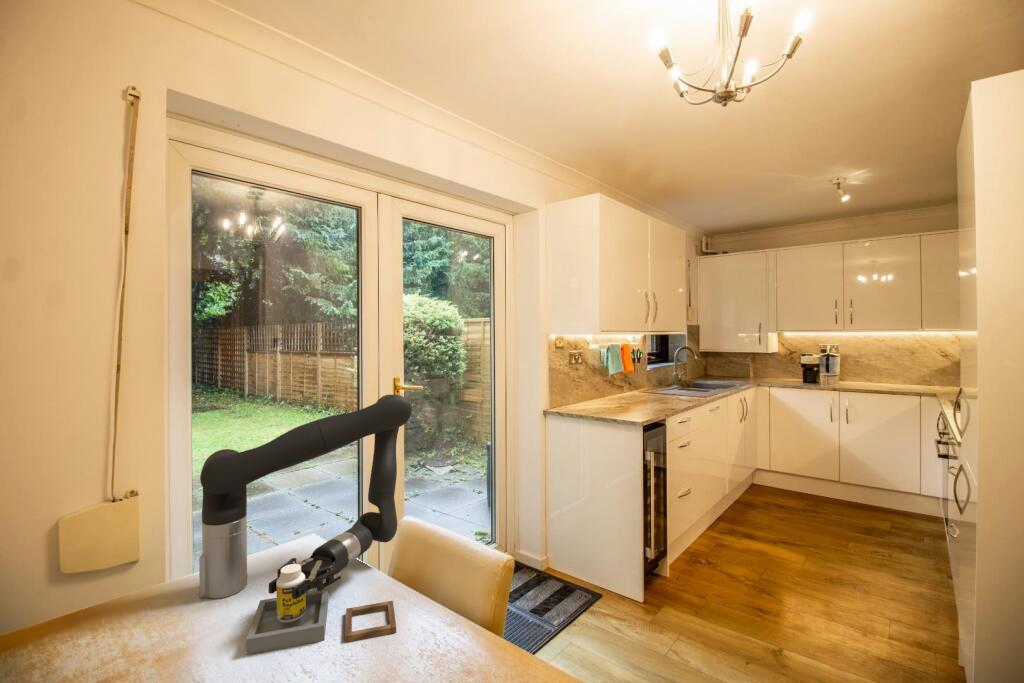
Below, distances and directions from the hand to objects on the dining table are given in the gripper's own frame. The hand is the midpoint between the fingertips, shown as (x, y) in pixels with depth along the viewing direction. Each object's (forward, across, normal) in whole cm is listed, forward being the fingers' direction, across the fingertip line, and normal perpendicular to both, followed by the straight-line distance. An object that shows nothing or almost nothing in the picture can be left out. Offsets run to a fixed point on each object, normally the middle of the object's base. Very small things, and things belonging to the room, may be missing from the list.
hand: (281, 591), depth 97 cm
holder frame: (-9, +15, +9) cm, 20 cm away
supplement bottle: (-3, 0, +7) cm, 7 cm away
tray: (-2, 0, +9) cm, 9 cm away
